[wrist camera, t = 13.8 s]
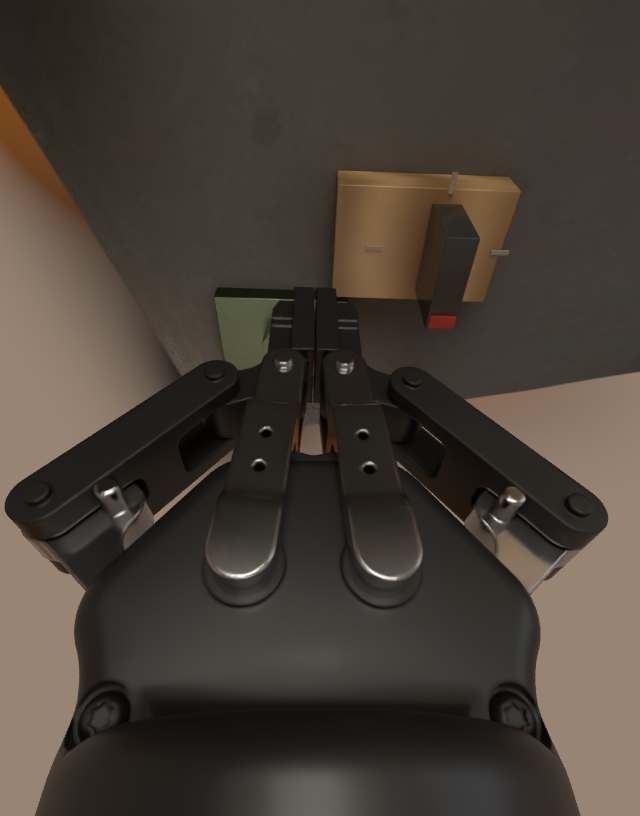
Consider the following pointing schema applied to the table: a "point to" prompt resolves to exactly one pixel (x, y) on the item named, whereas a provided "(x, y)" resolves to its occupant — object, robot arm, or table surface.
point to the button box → (248, 322)
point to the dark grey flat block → (445, 265)
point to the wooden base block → (411, 229)
